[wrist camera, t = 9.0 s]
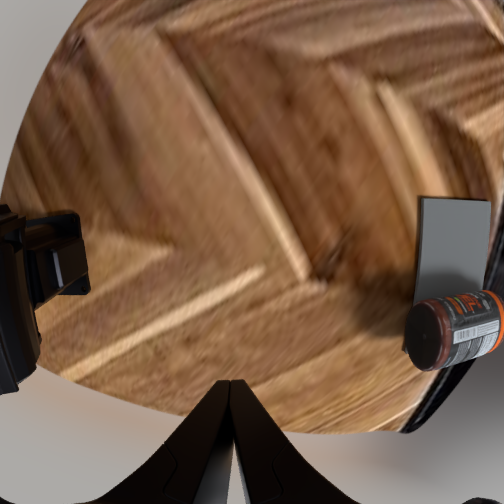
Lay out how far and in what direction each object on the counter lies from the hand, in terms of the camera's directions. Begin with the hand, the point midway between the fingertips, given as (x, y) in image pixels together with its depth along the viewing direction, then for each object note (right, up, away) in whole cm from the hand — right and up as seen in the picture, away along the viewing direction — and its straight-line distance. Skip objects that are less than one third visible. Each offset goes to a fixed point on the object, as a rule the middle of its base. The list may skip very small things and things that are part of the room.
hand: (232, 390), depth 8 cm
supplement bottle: (+13, -2, +11) cm, 18 cm away
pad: (+19, +2, +14) cm, 24 cm away
